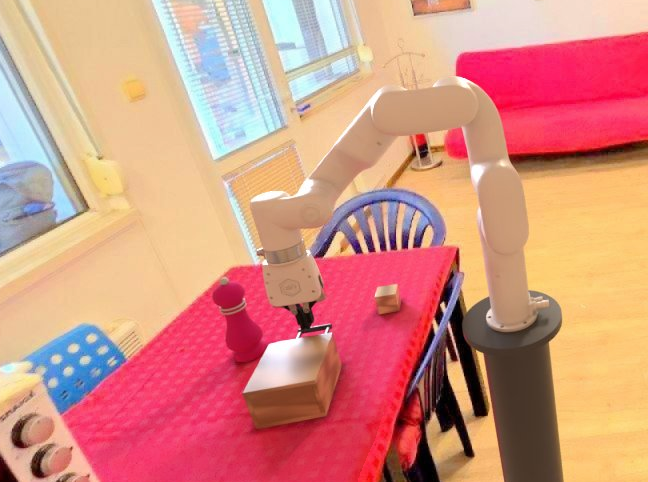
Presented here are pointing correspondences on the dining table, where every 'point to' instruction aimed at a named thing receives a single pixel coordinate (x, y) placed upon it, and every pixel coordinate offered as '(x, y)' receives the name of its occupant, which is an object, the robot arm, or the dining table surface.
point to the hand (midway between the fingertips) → (307, 325)
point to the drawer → (313, 329)
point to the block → (388, 299)
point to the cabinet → (293, 381)
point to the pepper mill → (238, 321)
